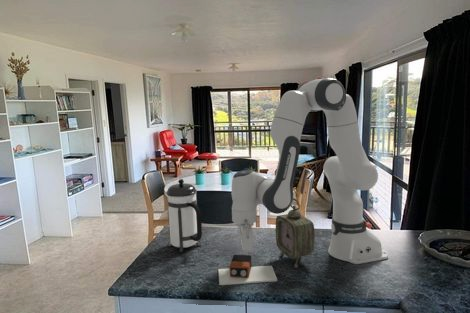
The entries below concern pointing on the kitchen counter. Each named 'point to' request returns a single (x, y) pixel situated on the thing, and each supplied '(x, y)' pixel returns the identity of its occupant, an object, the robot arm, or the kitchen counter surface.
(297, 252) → the tabletop clock
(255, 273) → the mat
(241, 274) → the battery
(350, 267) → the kitchen counter surface
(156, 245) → the kitchen counter surface
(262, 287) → the kitchen counter surface
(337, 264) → the kitchen counter surface
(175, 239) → the coffee press
